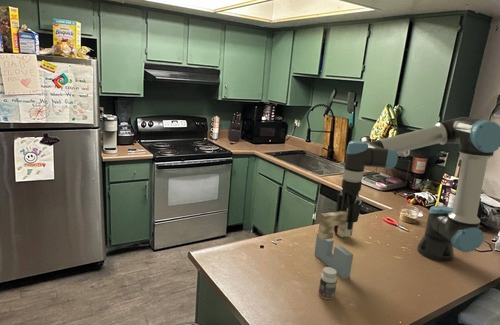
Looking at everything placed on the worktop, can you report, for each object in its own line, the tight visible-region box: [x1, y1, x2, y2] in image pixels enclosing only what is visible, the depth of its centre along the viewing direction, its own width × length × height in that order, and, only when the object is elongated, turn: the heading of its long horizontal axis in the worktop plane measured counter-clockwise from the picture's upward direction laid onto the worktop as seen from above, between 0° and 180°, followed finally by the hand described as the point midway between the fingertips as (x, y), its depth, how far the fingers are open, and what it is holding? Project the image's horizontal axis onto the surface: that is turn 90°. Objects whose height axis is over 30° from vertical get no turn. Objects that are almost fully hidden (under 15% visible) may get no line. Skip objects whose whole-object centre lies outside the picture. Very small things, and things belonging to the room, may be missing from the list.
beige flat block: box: [317, 210, 355, 240], centre depth 141 cm, size 15×3×10 cm, turn 114°
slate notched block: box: [313, 233, 354, 280], centre depth 144 cm, size 20×3×10 cm, turn 24°
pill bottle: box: [318, 266, 338, 300], centre depth 124 cm, size 6×6×10 cm
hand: (343, 233), depth 144 cm, fingers closed on beige flat block, 3 cm apart
